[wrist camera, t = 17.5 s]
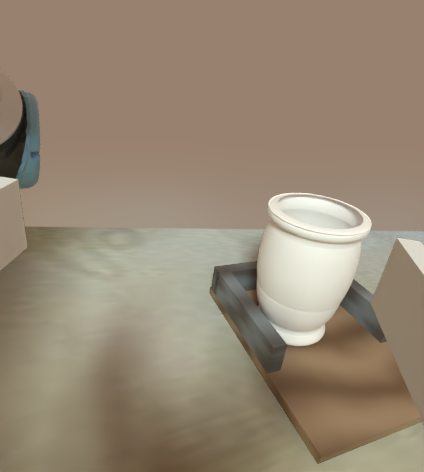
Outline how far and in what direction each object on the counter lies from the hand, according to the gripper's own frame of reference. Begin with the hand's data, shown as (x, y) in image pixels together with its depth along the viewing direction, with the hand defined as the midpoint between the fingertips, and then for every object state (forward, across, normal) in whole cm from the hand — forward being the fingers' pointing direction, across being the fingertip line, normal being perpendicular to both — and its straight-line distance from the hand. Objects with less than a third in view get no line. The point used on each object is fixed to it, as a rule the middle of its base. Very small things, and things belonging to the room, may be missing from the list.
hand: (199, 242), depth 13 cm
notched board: (+22, +13, -24) cm, 35 cm away
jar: (+24, +10, -23) cm, 35 cm away
